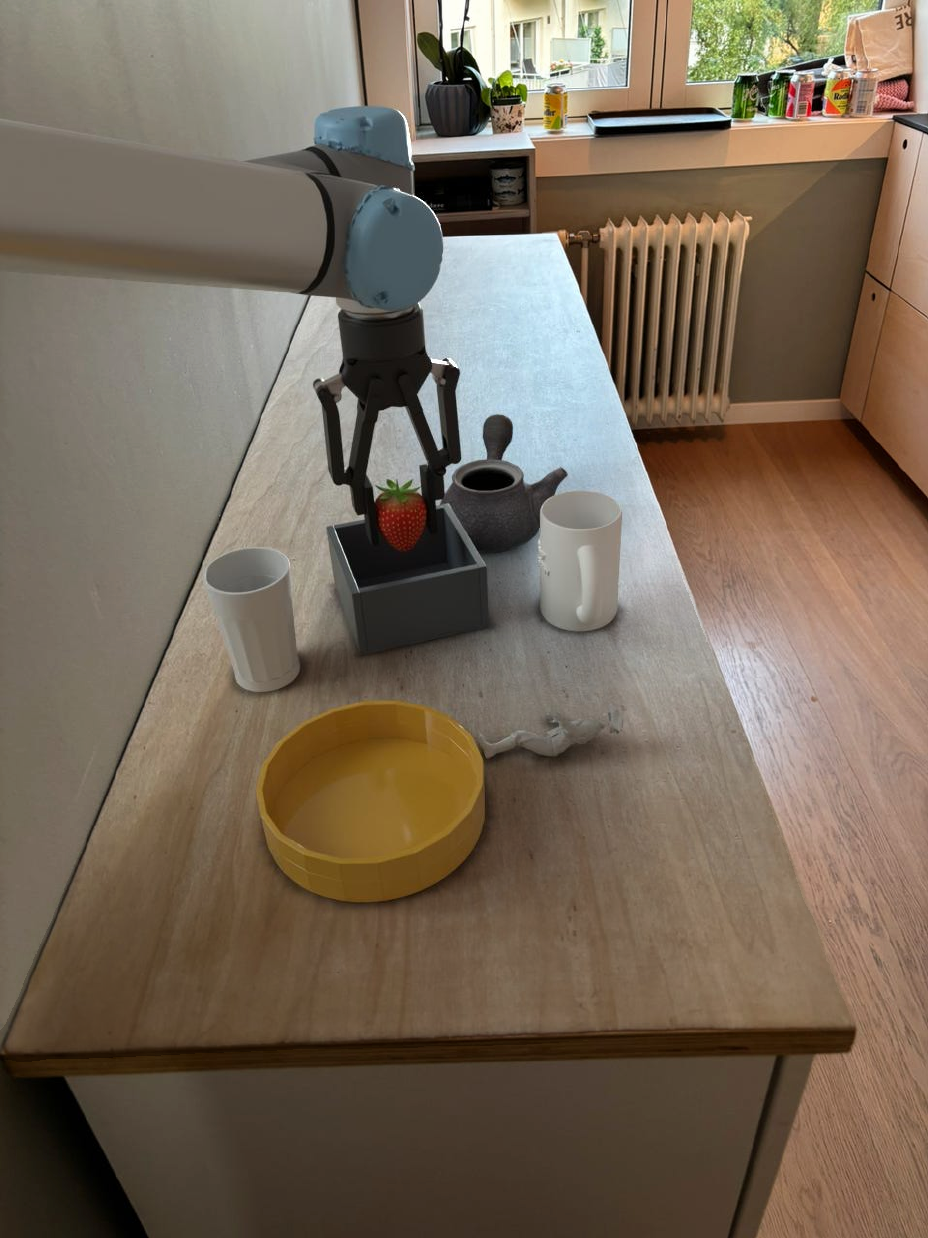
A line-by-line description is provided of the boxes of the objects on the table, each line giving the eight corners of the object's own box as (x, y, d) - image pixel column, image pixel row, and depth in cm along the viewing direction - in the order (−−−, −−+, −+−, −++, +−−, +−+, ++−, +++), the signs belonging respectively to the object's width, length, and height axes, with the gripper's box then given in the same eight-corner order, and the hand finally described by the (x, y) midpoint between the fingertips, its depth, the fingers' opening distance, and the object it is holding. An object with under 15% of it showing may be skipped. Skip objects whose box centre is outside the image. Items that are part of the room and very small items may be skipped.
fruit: (384, 566, 98) (376, 496, 93) (371, 541, 102) (363, 472, 97) (436, 555, 99) (430, 485, 95) (421, 531, 103) (415, 462, 99)
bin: (360, 655, 98) (351, 594, 94) (334, 584, 109) (325, 526, 104) (489, 627, 101) (486, 566, 97) (452, 560, 112) (448, 503, 107)
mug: (549, 659, 96) (550, 556, 89) (533, 591, 106) (532, 493, 99) (632, 652, 97) (639, 548, 90) (608, 585, 106) (613, 486, 99)
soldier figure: (481, 736, 89) (601, 681, 89) (503, 786, 89) (624, 730, 88) (474, 736, 82) (605, 675, 81) (498, 790, 81) (631, 729, 81)
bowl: (284, 930, 72) (274, 890, 69) (253, 766, 86) (244, 728, 84) (515, 866, 76) (514, 826, 73) (450, 719, 90) (447, 681, 87)
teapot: (574, 554, 112) (576, 475, 106) (439, 563, 111) (433, 485, 105) (553, 477, 127) (554, 404, 121) (434, 485, 127) (429, 412, 121)
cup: (322, 675, 96) (304, 573, 89) (247, 708, 93) (222, 604, 85) (286, 637, 101) (267, 537, 94) (214, 666, 98) (188, 565, 91)
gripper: (467, 279, 91) (477, 499, 105) (269, 307, 87) (306, 532, 101) (492, 303, 85) (499, 533, 99) (281, 334, 81) (319, 569, 95)
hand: (402, 532), depth 100 cm, fingers closed on fruit, 5 cm apart
